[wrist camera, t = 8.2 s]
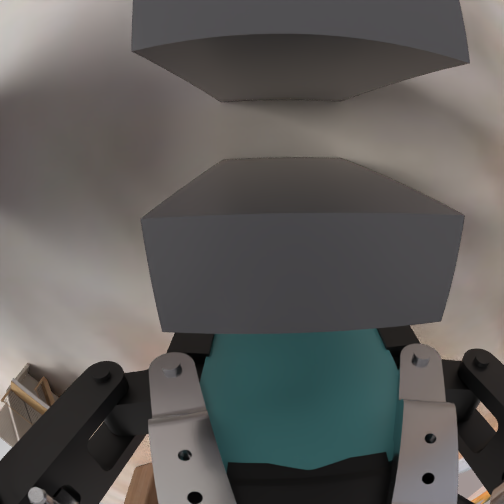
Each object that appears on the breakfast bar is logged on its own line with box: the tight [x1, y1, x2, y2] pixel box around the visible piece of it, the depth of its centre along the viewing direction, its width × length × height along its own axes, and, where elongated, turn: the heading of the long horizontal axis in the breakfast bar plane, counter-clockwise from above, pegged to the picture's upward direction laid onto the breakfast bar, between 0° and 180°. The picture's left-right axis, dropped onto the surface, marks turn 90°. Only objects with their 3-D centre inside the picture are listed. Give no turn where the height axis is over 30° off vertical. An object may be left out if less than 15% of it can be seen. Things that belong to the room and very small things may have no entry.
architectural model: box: [0, 363, 59, 447], centre depth 16 cm, size 3×7×7 cm, turn 52°
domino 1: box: [132, 0, 470, 102], centre depth 7 cm, size 2×5×9 cm, turn 92°
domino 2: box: [141, 157, 465, 334], centre depth 9 cm, size 2×5×9 cm, turn 92°
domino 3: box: [200, 328, 398, 473], centre depth 9 cm, size 2×5×9 cm, turn 92°
